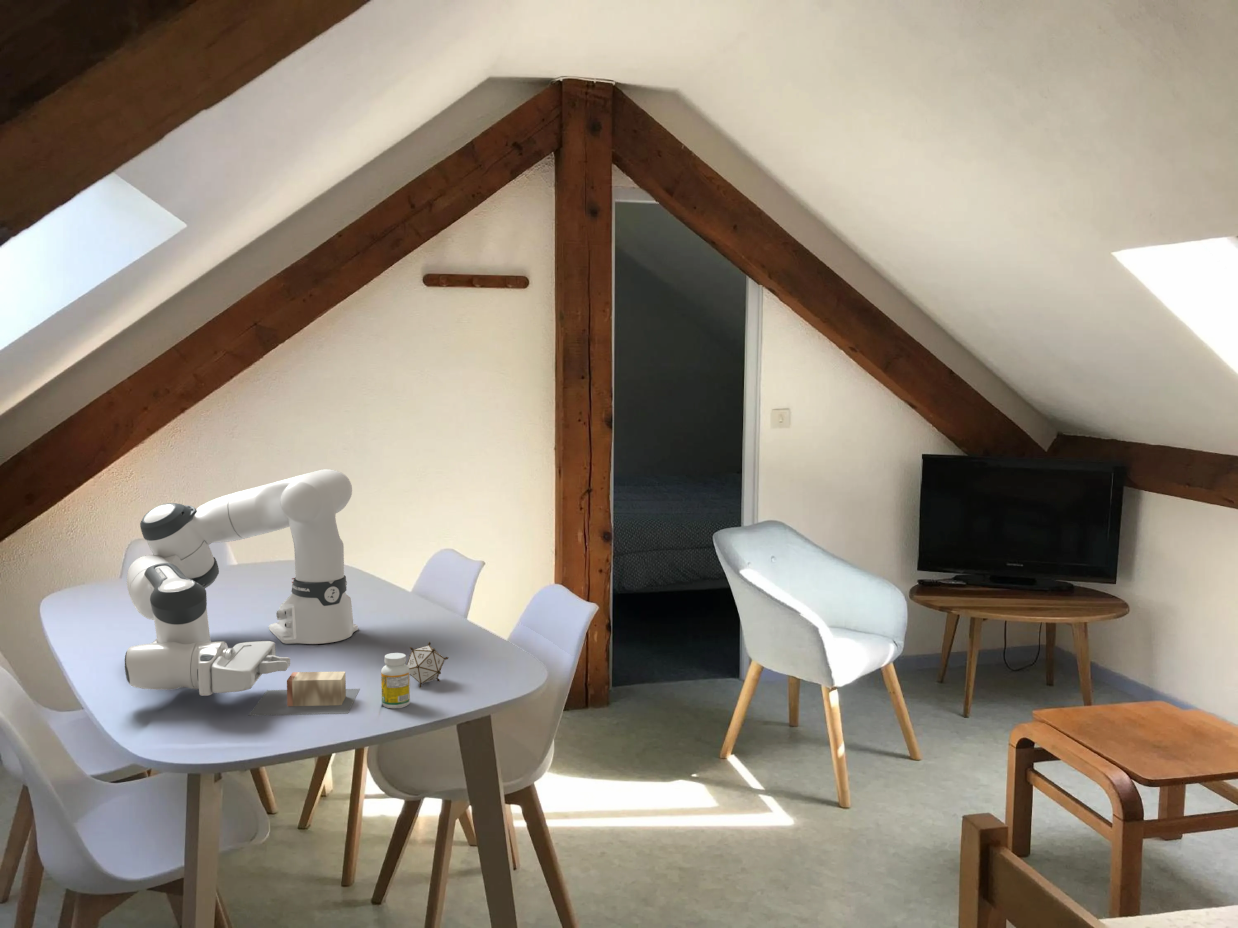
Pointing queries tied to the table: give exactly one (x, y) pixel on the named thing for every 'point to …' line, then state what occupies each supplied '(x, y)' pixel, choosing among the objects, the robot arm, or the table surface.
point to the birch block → (316, 688)
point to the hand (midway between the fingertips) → (288, 663)
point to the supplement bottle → (395, 681)
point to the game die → (425, 664)
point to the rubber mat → (277, 705)
